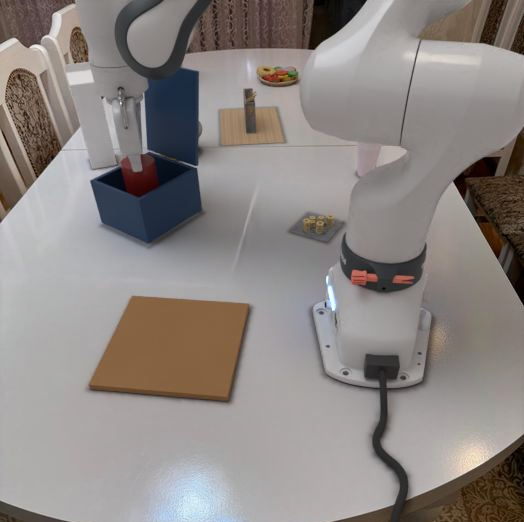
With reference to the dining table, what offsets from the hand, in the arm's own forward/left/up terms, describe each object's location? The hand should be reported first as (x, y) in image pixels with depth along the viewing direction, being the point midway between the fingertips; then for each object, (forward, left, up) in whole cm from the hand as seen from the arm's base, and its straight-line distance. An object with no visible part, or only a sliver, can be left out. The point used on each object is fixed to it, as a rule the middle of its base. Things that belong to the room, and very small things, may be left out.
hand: (137, 158), depth 93 cm
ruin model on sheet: (+52, -13, -13) cm, 55 cm away
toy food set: (+90, -17, -13) cm, 92 cm away
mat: (-35, -14, -13) cm, 40 cm away
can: (0, 0, -12) cm, 12 cm away
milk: (+26, +20, -13) cm, 35 cm away
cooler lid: (+8, -5, +5) cm, 11 cm away
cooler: (+1, 0, -13) cm, 13 cm away
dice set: (+1, -34, -13) cm, 37 cm away
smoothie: (+25, -44, -13) cm, 53 cm away
